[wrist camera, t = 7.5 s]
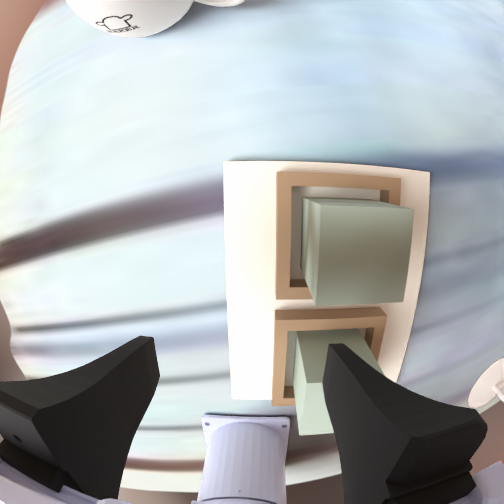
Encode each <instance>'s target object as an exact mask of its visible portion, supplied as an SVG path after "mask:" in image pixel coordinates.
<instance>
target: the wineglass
mask: <svg viewBox="0 0 504 504" xmlns="http://www.w3.org/2000/svg"><path fill="white" fill-rule="evenodd" d="M503 386H504V358H502V359H499V360H497V361H496V362H495V363H493V364H492V365H491V366H490V367H489V368H488V369H487V370H485V371H484V373H483V374H482V375H481V376H480V378H479V379H478V380H477V382H476V383H475V385H474V386H473V388H472V390H471V392H470V395H469V399H468V403H469V406H470V407H472V408H477V407H480V406H482V405H484V404H486V403H487V402H489V401H490V400H491V399H493V398H494V397H495V396H496V395H498V397H499V398H500V399H501V400H502V401H503V402H504V393H503V391H502V390H501V389H502V388H503Z"/></svg>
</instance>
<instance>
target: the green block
mask: <svg viewBox="0 0 504 504" xmlns="http://www.w3.org/2000/svg"><path fill="white" fill-rule="evenodd" d="M413 219H414V209H411V208H407V207H402V206H398V205H394V204H389V203H385V202H380V201H376V200H371V199H355V198H329V197H302V219H301V257H300V268H301V271H302V273H303V276H304V278H305V281H306V283H307V286H308V288H309V291H310V293H311V296H312V298H313V301H314V303H315V306H330V305H358V304H379V303H396V302H403V300H404V294H405V288H406V282H407V275H408V268H409V260H410V252H411V243H412V232H413Z"/></svg>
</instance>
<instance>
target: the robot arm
mask: <svg viewBox="0 0 504 504" xmlns="http://www.w3.org/2000/svg"><path fill="white" fill-rule="evenodd" d="M159 377H160V373H159V367H158V362H157V356H156V350H155V344H154V338H153V337H146V336H139V337H137V338H135V339H133V340H131V341H129V342H127V343H126V344H124V345H122V346H120V347H119V348H117V349H115V350H113V351H111V352H110V353H108V354H106V355H104V356H102V357H100V358H98V359H96V360H94V361H92V362H90V363H88V364H86V365H84V366H81V367H79V368H76V369H73V370H71V371H68V372H65V373H61V374H57V375H54V376H50V377H46V378H40V379H34V380H27V381H11V382H0V434H1V435H2V437H3V438H4V440H3V441H2V442H1V443H0V504H133V503H129V502H125V501H121V500H118V494H119V488H120V484H121V479H122V474H123V470H124V467H125V463H126V459H127V456H128V453H129V449H130V446H131V443H132V440H133V437H134V435H135V433H136V430H137V428H138V426H139V424H140V422H141V420H142V418H143V416H144V414H145V412H146V410H147V408H148V406H149V404H150V402H151V400H152V398H153V396H154V393H155V390H156V387H157V384H158V381H159ZM322 385H323V392H324V398H325V404H326V407H327V411H328V414H329V417H330V421H331V424H332V427H333V431H334V434H335V438H336V441H337V445H338V449H339V455H340V462H341V469H342V478H343V486H344V501H345V504H504V465H503V463H502V462H501V461H498V462H496V463H495V464H493V465H491V466H489V467H487V468H485V469H483V470H481V471H480V472H478V473H477V474H475V475H474V476H473V477H472V476H471V475H470V472H469V471H470V470H471V469H472V464H471V463H470V461H469V460H470V459H471V457H472V456H473V455H474V453H475V452H476V450H477V449H478V448H479V446H480V445H481V443H482V441H483V440H484V438H485V436H486V433H487V424H486V423H485V421H484V420H483V419H482V417H481V416H480V415H479V413H478V412H477V411H476V409H470V408H464V407H458V406H453V405H449V404H445V403H442V402H438V401H435V400H432V399H429V398H426V397H424V396H422V395H419V394H417V393H414V392H412V391H410V390H408V389H406V388H404V387H402V386H401V385H399V384H397V383H395V382H393V381H392V380H390V379H389V378H387V377H386V376H384V375H383V374H381V373H380V372H378V371H377V370H376V369H374V368H373V367H372V366H370V365H369V364H368V363H367V362H365V361H364V360H363V359H362V358H360V357H359V356H358V355H357V354H356V353H355V352H353V351H352V350H351V349H350V348H349V347H347V346H346V345H345V344H343V343H336V344H329V345H328V351H327V358H326V364H325V370H324V375H323V381H322ZM207 422H208V423H207ZM202 425H203V430H204V436H205V441H206V446H207V454H206V459H205V464H204V469H203V474H202V479H201V484H200V489H199V494H198V499H197V501H192V502H191V504H286V483H285V460H286V452H287V445H288V437H289V429H290V419H289V418H288V417H239V416H220V415H203V416H202Z"/></svg>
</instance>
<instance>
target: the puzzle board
mask: <svg viewBox="0 0 504 504" xmlns="http://www.w3.org/2000/svg"><path fill="white" fill-rule="evenodd" d="M223 165H224V226H225V262H226V290H227V314H228V335H229V355H230V372H231V389H232V399H259V400H272V406H291V405H296V412H297V420H298V429H299V435H315V434H327V433H334V431H333V427H332V424H331V421H330V417H329V414H328V411H327V407H326V404H325V398H324V392H323V385H322V381H323V375H324V370H325V364H326V358H327V351H328V345H329V344H336V343H343V344H345V345H346V346H347V347H349V348H350V349H351V350H352V351H353V352H355V353H356V354H357V355H358V356H359V357H360V358H362V359H363V360H364V361H365V362H367V363H368V364H369V365H370V366H372V367H373V368H374V369H376V370H377V371H378V372H380V373H381V374H383V375H384V376H386V377H387V378H389V379H390V380H392V381H393V382H395V383H396V382H397V379H398V375H399V372H400V369H401V365H402V362H403V358H404V355H405V351H406V347H407V344H408V340H409V336H410V332H411V327H412V323H413V319H414V314H415V309H416V304H417V299H418V294H419V288H420V282H421V276H422V269H423V262H424V255H425V246H426V237H427V226H428V213H429V194H430V172H425V171H417V170H409V169H401V168H391V167H381V166H370V165H358V164H343V163H325V162H299V161H229V162H223ZM302 197H329V198H355V199H371V200H376V201H380V202H385V203H389V204H394V205H398V206H402V207H407V208H411V209H414V219H413V232H412V243H411V252H410V260H409V268H408V275H407V282H406V288H405V294H404V300H403V302H396V303H379V304H358V305H330V306H315V303H314V301H313V298H312V296H311V293H310V291H309V288H308V286H307V283H306V281H305V278H304V276H303V273H302V271H301V268H300V257H301V219H302Z"/></svg>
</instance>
